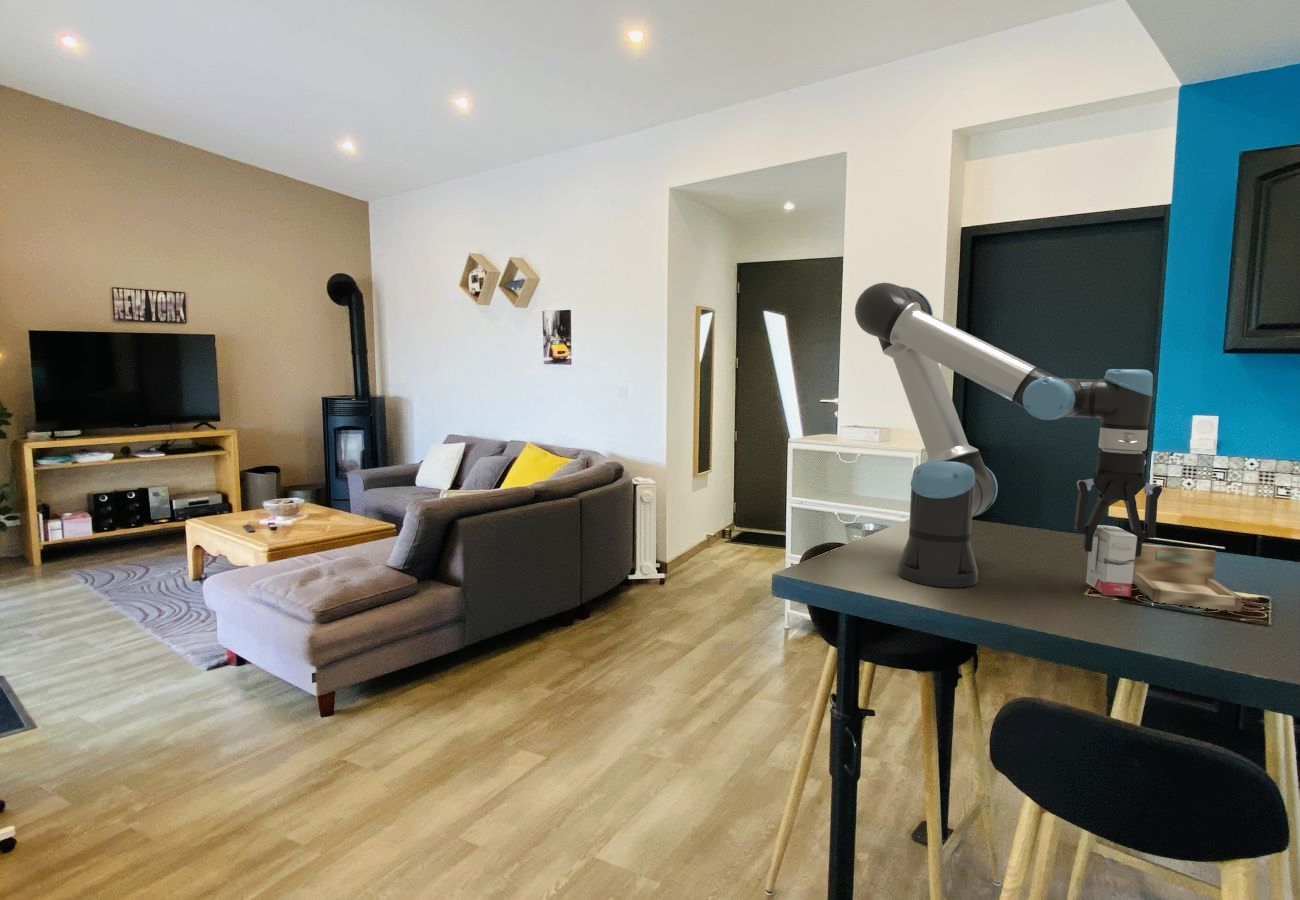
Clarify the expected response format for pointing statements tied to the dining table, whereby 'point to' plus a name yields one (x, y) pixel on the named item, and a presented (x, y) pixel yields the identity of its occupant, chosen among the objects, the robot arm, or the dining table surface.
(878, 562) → the dining table surface
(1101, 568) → the ink box
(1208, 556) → the drawer
